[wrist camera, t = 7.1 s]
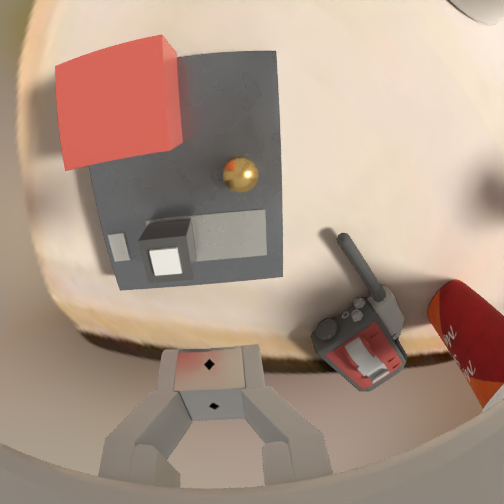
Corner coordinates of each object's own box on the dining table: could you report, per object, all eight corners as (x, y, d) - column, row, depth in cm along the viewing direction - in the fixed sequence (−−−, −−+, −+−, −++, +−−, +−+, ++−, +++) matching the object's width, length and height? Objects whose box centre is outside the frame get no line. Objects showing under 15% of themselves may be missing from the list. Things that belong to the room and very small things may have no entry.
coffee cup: (406, 322, 27) (476, 429, 14) (451, 260, 24) (546, 354, 11) (441, 335, 29) (500, 420, 16) (479, 283, 26) (553, 361, 13)
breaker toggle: (148, 224, 17) (137, 242, 15) (190, 219, 17) (185, 237, 15) (156, 263, 19) (147, 285, 16) (196, 259, 19) (193, 281, 16)
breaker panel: (93, 83, 14) (74, 80, 12) (270, 57, 15) (278, 47, 13) (126, 276, 21) (116, 296, 19) (277, 263, 22) (284, 282, 20)
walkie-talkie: (414, 340, 29) (345, 219, 21) (431, 365, 26) (369, 243, 17) (356, 380, 31) (257, 285, 23) (368, 407, 27) (264, 320, 19)
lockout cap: (89, 73, 13) (55, 66, 9) (176, 53, 13) (162, 34, 9) (97, 157, 15) (65, 171, 11) (182, 142, 15) (170, 150, 12)
